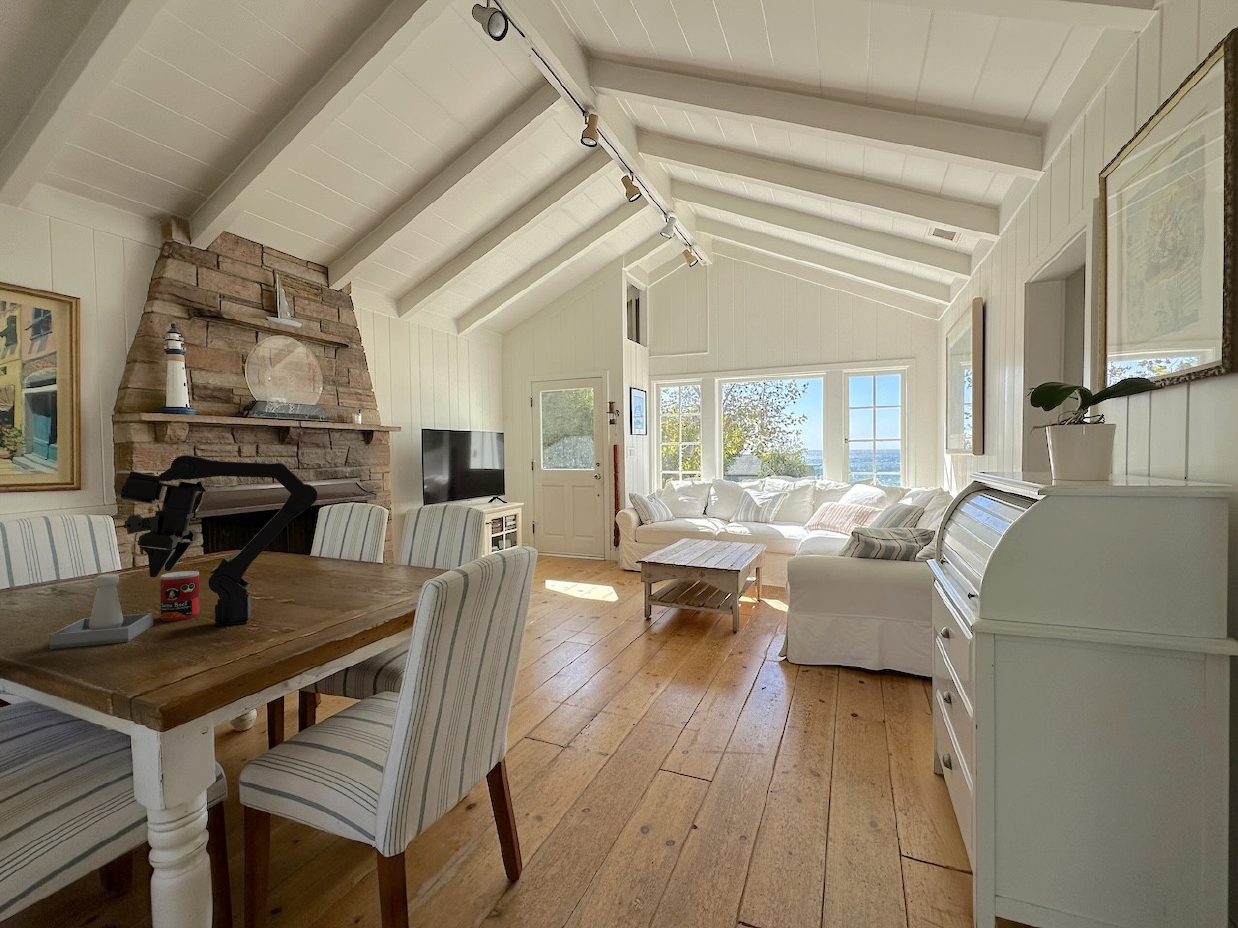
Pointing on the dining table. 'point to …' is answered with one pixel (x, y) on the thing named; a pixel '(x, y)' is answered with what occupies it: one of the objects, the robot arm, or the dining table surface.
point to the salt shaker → (106, 604)
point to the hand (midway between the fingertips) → (160, 573)
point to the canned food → (179, 595)
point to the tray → (100, 632)
